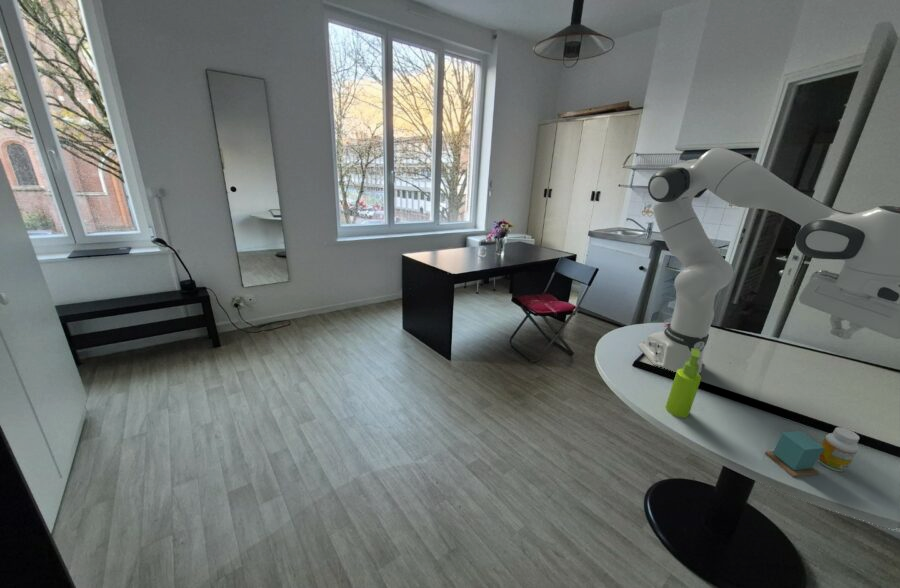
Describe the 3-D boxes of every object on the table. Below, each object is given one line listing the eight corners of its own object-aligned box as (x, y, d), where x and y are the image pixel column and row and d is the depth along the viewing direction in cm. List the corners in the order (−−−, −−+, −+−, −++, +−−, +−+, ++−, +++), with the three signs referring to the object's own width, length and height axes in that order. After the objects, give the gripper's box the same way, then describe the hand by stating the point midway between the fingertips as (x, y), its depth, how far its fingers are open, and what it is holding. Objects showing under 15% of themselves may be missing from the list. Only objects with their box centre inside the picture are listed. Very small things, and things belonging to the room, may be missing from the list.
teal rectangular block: (772, 452, 86) (782, 433, 84) (790, 450, 87) (800, 431, 84) (793, 470, 81) (805, 449, 79) (812, 468, 82) (824, 447, 79)
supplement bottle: (813, 450, 88) (829, 421, 84) (843, 461, 85) (861, 431, 81) (816, 464, 84) (833, 434, 81) (847, 476, 81) (866, 445, 77)
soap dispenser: (689, 406, 103) (708, 350, 96) (688, 420, 98) (708, 362, 90) (666, 399, 106) (683, 344, 99) (664, 412, 101) (682, 355, 93)
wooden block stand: (764, 453, 87) (774, 432, 85) (788, 450, 88) (799, 430, 85) (792, 477, 81) (804, 455, 78) (818, 474, 82) (831, 452, 79)
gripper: (804, 268, 85) (783, 317, 90) (917, 300, 66) (882, 360, 71) (825, 267, 85) (803, 316, 91) (944, 299, 67) (907, 358, 72)
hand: (839, 336), depth 81 cm, fingers closed
